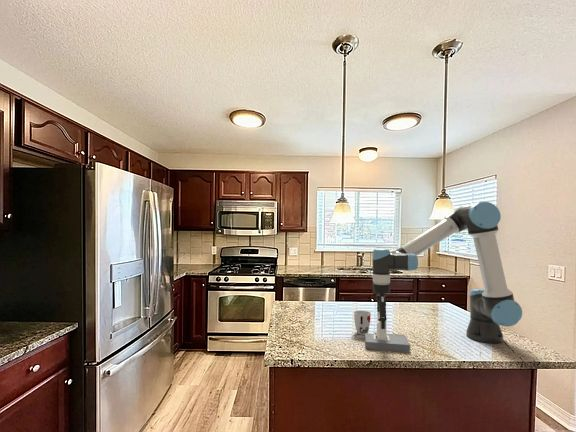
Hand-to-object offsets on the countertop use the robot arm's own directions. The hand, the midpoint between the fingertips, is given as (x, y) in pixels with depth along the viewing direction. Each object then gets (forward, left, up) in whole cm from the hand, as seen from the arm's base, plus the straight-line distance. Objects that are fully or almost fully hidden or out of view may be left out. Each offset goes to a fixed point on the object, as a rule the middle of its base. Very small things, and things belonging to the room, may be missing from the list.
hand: (381, 331), depth 147 cm
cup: (+8, -15, -6) cm, 18 cm away
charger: (0, 0, -6) cm, 6 cm away
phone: (-5, -11, -6) cm, 14 cm away
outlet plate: (-2, +1, -6) cm, 6 cm away
